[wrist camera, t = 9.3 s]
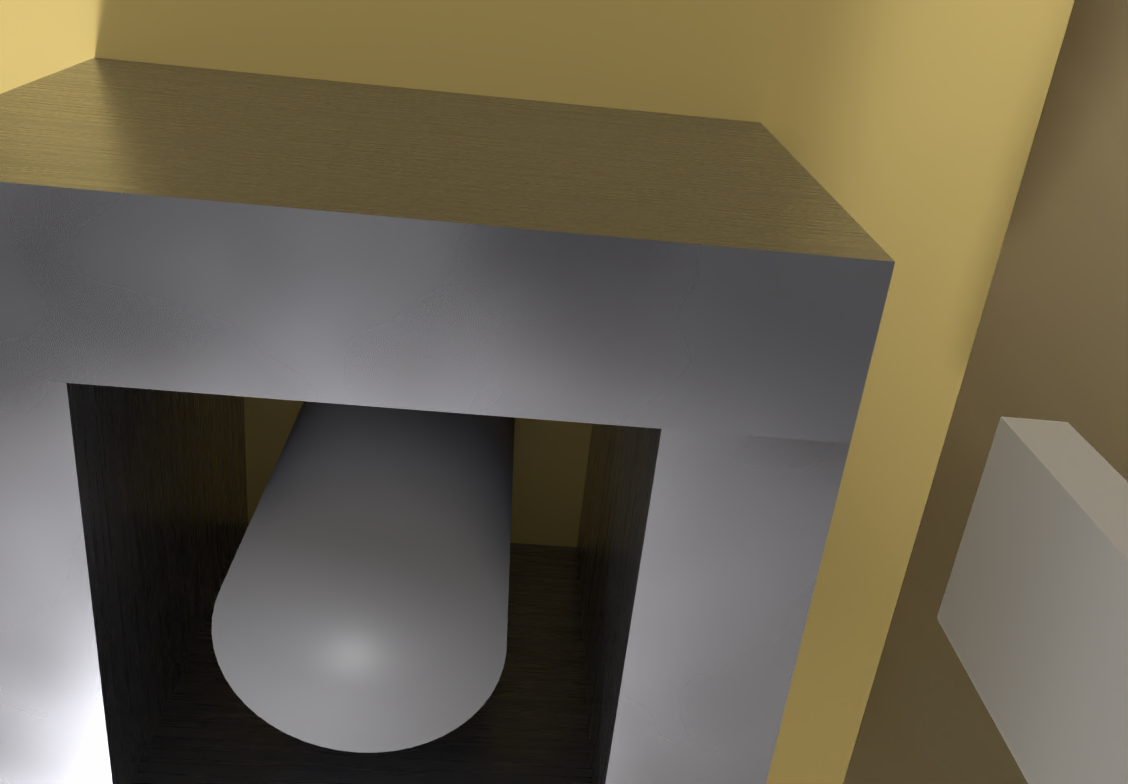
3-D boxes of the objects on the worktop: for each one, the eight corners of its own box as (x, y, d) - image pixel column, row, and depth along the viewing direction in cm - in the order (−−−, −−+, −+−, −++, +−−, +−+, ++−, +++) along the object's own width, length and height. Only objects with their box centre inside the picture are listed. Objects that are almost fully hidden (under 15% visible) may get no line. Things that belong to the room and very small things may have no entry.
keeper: (1055, -153, 12) (1533, -190, 6) (812, 746, 18) (942, 1150, 12) (-191, -306, 11) (-961, -509, 5) (-17, 696, 17) (-296, 1108, 11)
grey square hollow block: (759, 122, 12) (895, 262, 8) (668, 640, 15) (723, 953, 11) (93, 57, 12) (-184, 165, 7) (143, 607, 15) (-27, 920, 10)
